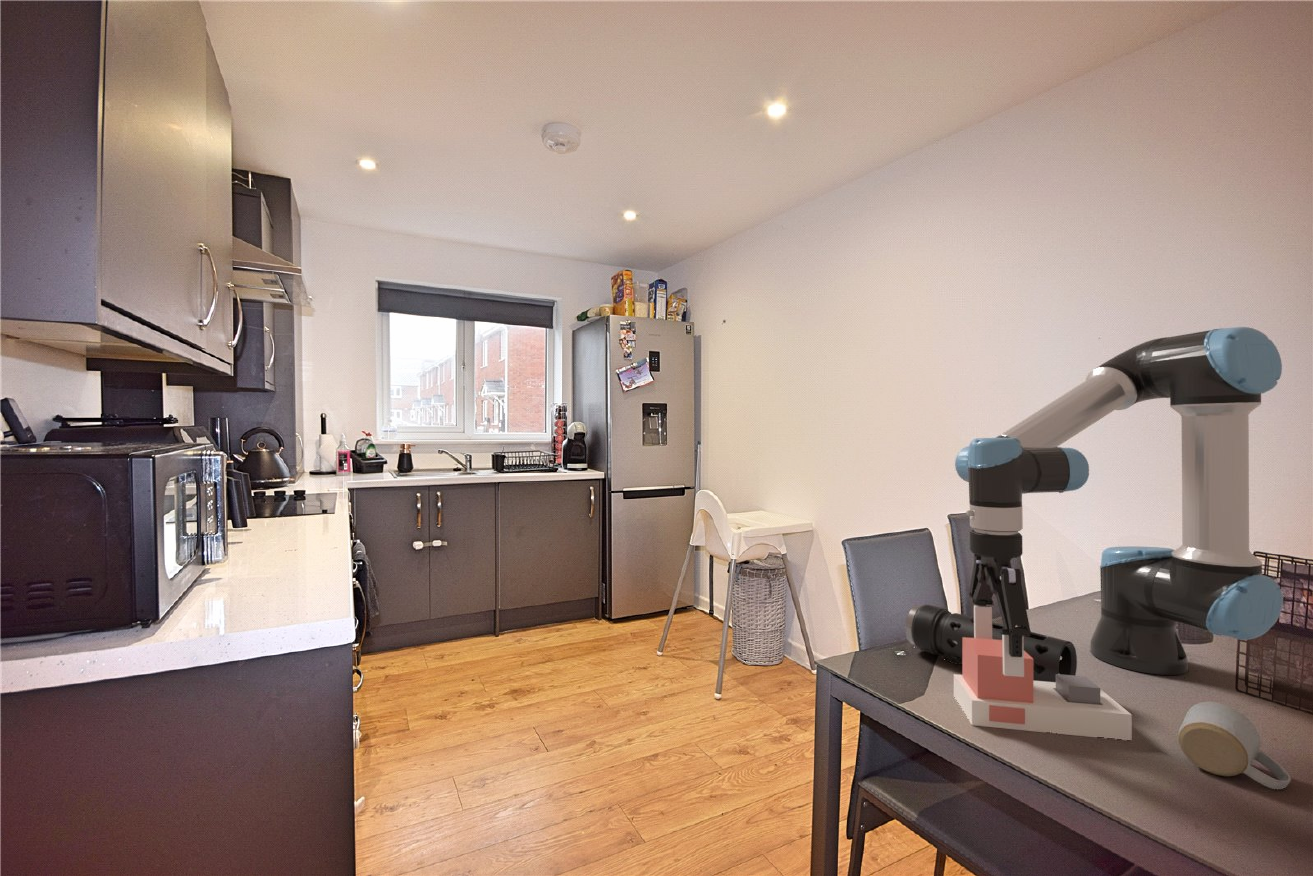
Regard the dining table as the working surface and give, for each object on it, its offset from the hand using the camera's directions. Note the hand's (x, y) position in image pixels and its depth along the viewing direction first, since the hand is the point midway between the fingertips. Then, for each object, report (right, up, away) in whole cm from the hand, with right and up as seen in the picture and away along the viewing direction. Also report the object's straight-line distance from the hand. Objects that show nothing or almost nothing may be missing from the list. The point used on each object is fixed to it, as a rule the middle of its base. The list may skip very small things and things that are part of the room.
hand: (997, 658), depth 94 cm
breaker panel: (+6, -9, -1) cm, 11 cm away
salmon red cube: (0, -5, 0) cm, 5 cm away
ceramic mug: (+23, -10, -16) cm, 29 cm away
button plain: (+11, -7, -3) cm, 13 cm away
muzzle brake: (+7, -9, +16) cm, 20 cm away
